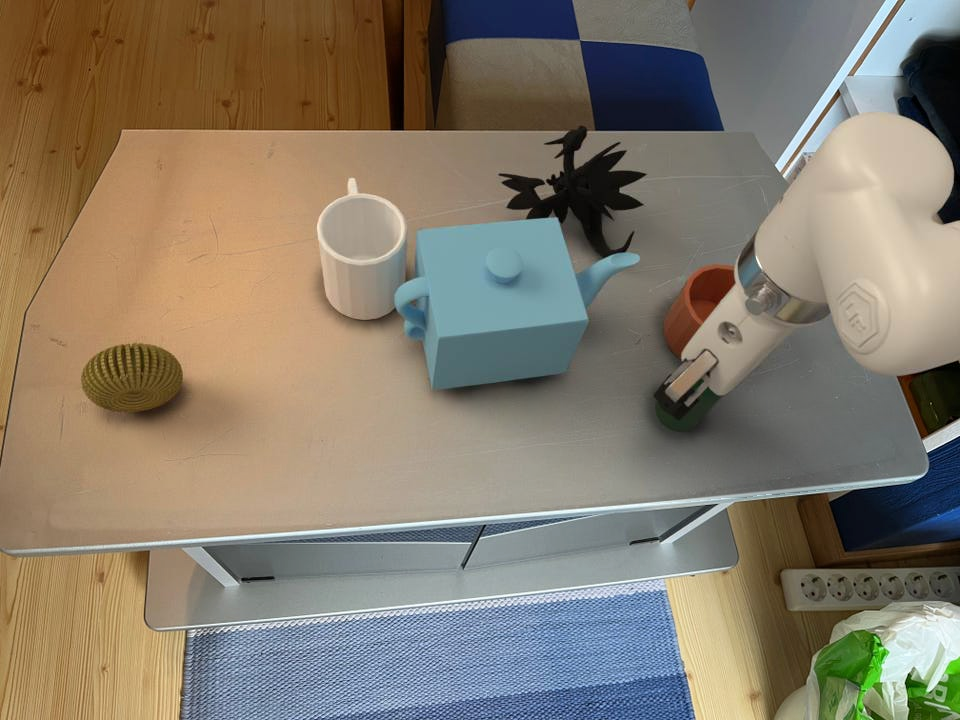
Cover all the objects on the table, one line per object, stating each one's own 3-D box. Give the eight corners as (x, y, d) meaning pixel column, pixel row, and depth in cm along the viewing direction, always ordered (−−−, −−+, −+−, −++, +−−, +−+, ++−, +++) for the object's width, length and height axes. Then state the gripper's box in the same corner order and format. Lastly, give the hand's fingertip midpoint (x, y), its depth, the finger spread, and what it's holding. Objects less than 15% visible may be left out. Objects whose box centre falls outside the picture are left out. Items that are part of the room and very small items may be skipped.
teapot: (402, 402, 71) (405, 330, 58) (385, 303, 75) (385, 217, 63) (619, 372, 75) (664, 299, 63) (590, 280, 80) (627, 196, 67)
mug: (391, 220, 80) (391, 156, 72) (411, 314, 75) (414, 258, 66) (315, 229, 79) (306, 164, 70) (330, 325, 74) (323, 268, 65)
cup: (758, 339, 78) (787, 307, 73) (708, 385, 75) (735, 355, 69) (697, 285, 81) (721, 250, 75) (646, 328, 78) (667, 294, 72)
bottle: (707, 413, 74) (751, 368, 65) (679, 440, 72) (720, 397, 63) (674, 382, 75) (712, 333, 66) (646, 408, 73) (681, 361, 64)
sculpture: (189, 369, 70) (167, 326, 63) (194, 407, 68) (172, 367, 61) (98, 387, 68) (64, 346, 61) (101, 427, 66) (67, 389, 59)
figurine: (535, 270, 87) (488, 261, 77) (530, 162, 87) (482, 140, 77) (671, 255, 79) (637, 244, 69) (665, 136, 79) (631, 108, 69)
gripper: (762, 379, 48) (671, 464, 63) (901, 244, 55) (788, 351, 70) (676, 300, 50) (608, 401, 65) (821, 180, 57) (728, 297, 72)
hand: (701, 375), depth 67 cm, fingers open, 9 cm apart
